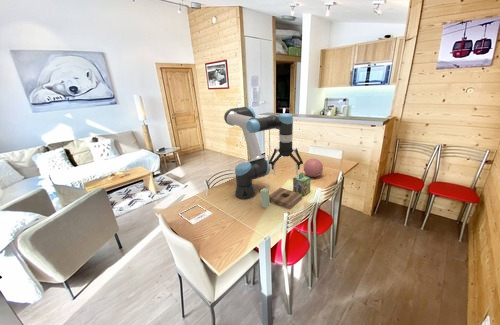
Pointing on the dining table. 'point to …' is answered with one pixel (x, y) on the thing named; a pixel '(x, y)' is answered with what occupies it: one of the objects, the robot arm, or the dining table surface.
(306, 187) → the chalk box
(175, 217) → the dining table surface
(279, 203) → the socket board
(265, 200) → the peg
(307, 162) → the pink ball
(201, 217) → the photo frame
